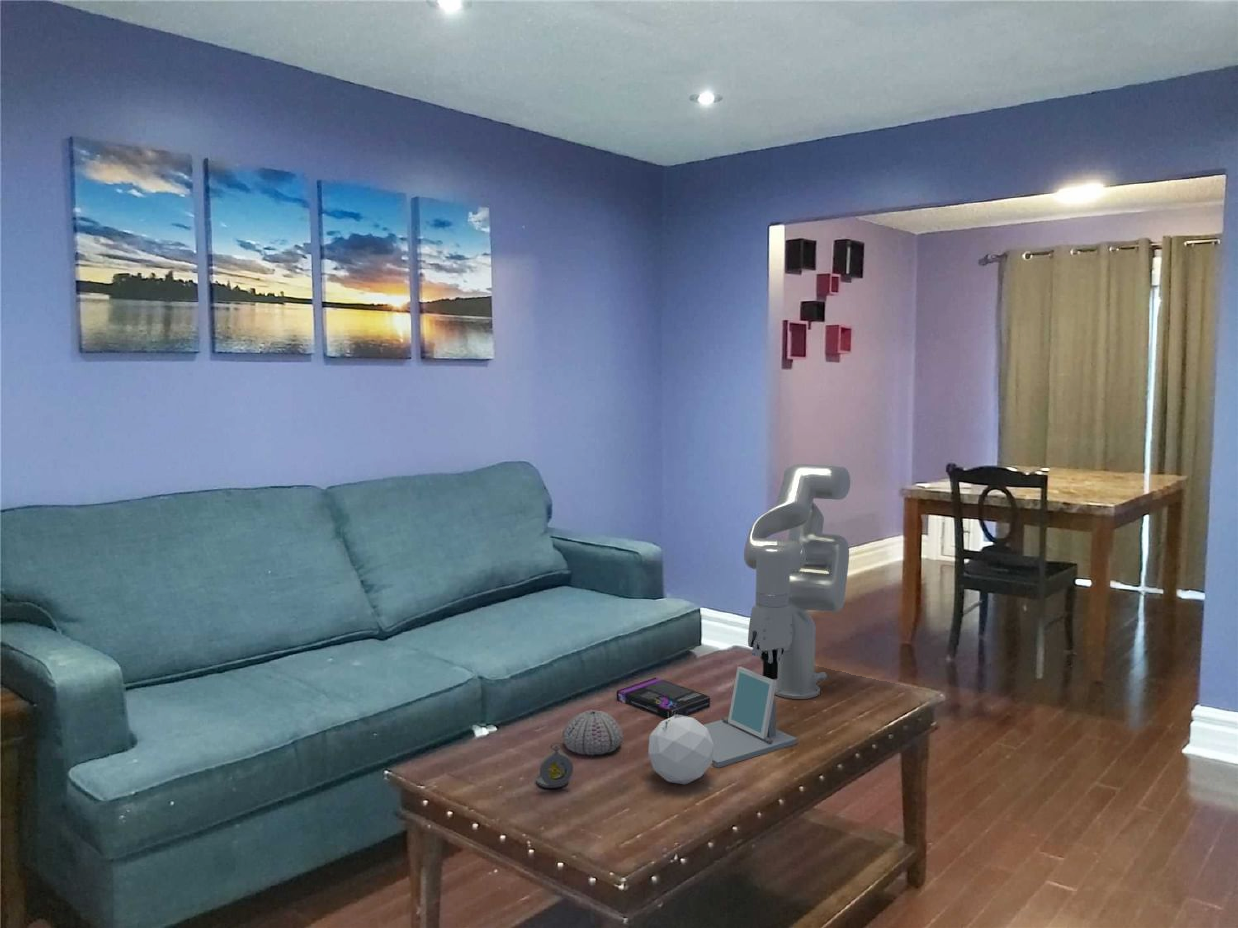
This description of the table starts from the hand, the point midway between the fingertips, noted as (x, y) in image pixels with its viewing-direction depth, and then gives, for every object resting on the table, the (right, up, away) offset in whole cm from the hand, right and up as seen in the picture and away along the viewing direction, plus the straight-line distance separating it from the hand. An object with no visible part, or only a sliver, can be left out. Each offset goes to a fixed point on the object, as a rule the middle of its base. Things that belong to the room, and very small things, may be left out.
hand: (770, 677), depth 219 cm
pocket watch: (-48, -16, -27) cm, 57 cm away
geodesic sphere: (-22, -16, -24) cm, 36 cm away
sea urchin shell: (-41, -14, -8) cm, 44 cm away
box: (-24, -11, +19) cm, 33 cm away
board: (-9, -13, -5) cm, 17 cm away
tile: (-4, -5, -2) cm, 7 cm away
